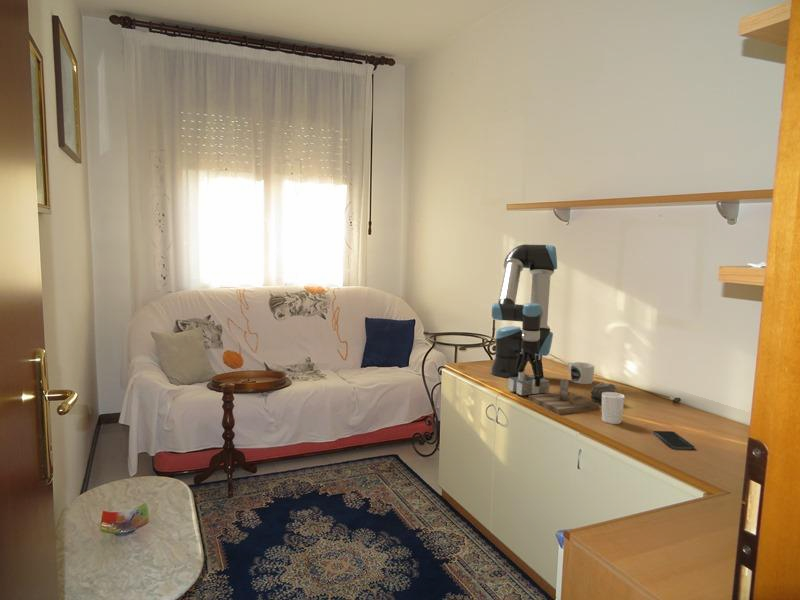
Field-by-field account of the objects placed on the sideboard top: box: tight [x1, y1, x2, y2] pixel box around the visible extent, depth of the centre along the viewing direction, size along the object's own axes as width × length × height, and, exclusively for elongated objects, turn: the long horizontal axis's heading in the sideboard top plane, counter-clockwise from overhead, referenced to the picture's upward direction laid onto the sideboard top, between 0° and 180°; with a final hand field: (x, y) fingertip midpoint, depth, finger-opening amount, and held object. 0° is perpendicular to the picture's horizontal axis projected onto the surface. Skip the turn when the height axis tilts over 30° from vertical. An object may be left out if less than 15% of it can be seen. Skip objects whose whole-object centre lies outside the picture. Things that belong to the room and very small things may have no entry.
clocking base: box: [528, 379, 600, 415], centre depth 224 cm, size 19×20×10 cm
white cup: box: [601, 392, 626, 425], centre depth 205 cm, size 8×8×10 cm
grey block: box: [507, 374, 550, 396], centre depth 240 cm, size 14×10×5 cm
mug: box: [566, 361, 595, 385], centre depth 262 cm, size 13×10×8 cm
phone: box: [652, 430, 695, 451], centre depth 186 cm, size 8×1×15 cm
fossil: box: [590, 382, 618, 406], centre depth 229 cm, size 11×9×10 cm
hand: (528, 389), depth 240 cm, fingers closed on grey block, 10 cm apart
